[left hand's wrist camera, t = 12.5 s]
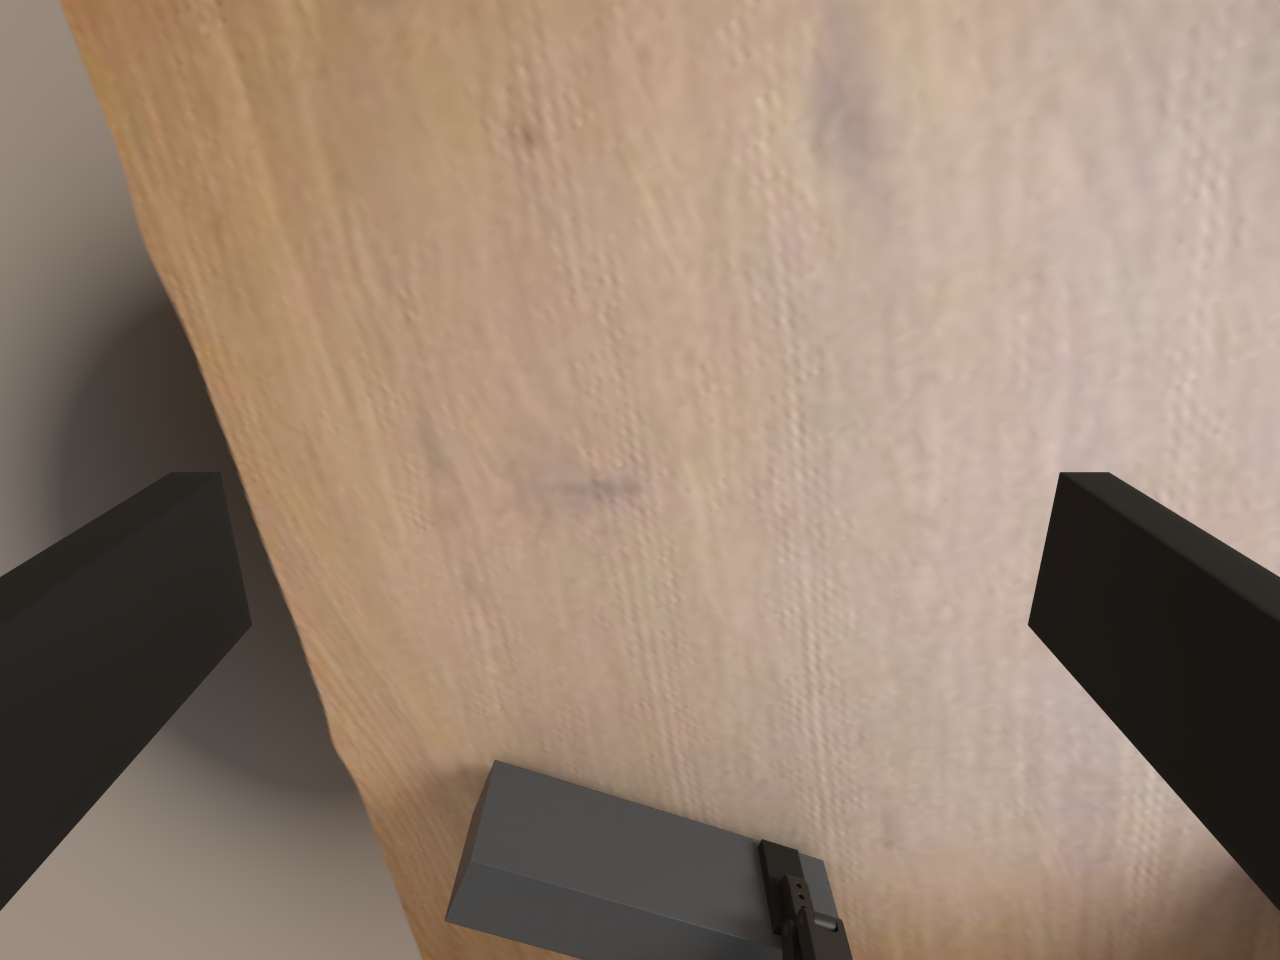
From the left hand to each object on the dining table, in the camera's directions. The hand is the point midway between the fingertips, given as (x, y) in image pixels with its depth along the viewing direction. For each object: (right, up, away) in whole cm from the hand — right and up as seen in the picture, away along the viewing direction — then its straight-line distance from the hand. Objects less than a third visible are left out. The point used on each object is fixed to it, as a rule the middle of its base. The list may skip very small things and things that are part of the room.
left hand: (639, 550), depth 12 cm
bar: (+1, -24, +41) cm, 47 cm away
